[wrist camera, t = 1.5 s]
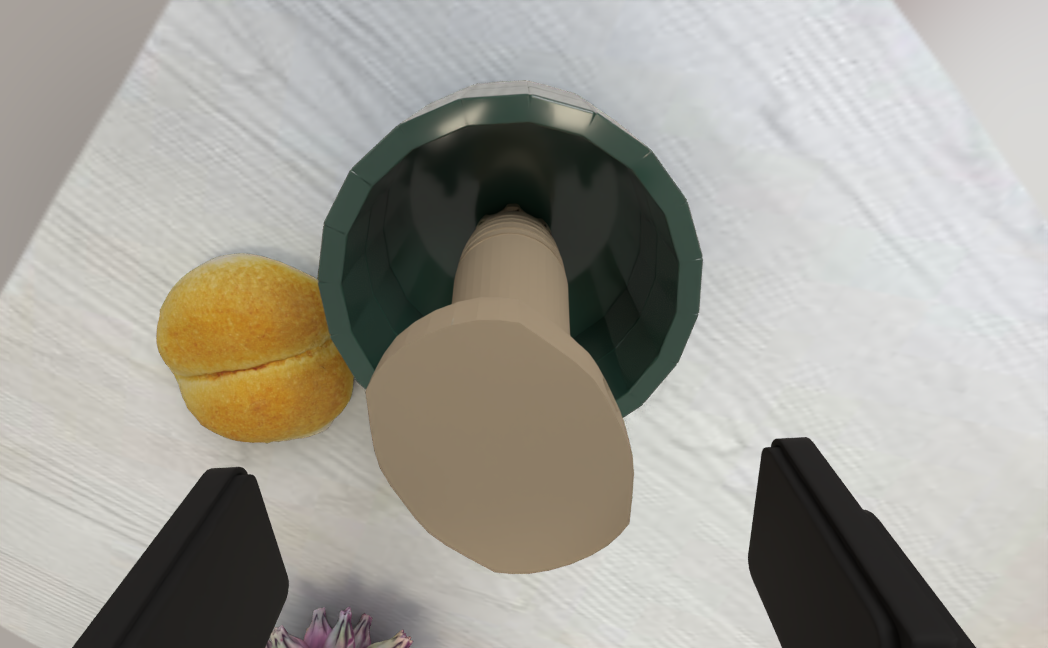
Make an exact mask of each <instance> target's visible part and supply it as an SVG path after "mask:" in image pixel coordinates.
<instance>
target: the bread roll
mask: <svg viewBox="0 0 1048 648" xmlns="http://www.w3.org/2000/svg"><path fill="white" fill-rule="evenodd" d="M157 347H158V350H159V353H160V355H161V357H162V359H163V360H164V362H165V363H166V365H167V366H168V367H169V368H170V370H171V371H172V372H173V374H174V375H175V378H176V380H177V382H178V384H179V387H180V391H181V394H182V397H183V399H184V401H185V403H186V406H187V408H188V409H189V411H190V412H191V413H192V414H193V415H194V416H195V417H196V419H197V420H198V421H199V422H200V424H201V425H202V426H204V427H206V428H207V429H209V430H211V431H212V432H214V433H216V434H219V435H221V436H223V437H226V438H229V439H232V440H236V441H242V442H252V443H255V442H265V443H270V442H273V441H276V442H280V441H287V440H292V439H298V438H305V437H310V436H312V435H315V434H317V433H320V432H323V431H325V430H326V429H328V428H329V426H330V425H331V424H332V422H333V420H334V419H335V418H336V417H337V416H338V415H339V414H340V413H341V412H342V411H343V409H344V408H345V407H346V405H347V404H348V402H349V401H350V398H351V396H352V391H353V380H354V376H353V374H352V373H351V371H350V369H349V368H348V366H347V365H346V363H345V361H344V360H343V358H342V356H341V355H340V353H339V351H338V350H337V348H336V346H335V345H334V343H333V341H332V340H331V338H330V334H329V330H328V326H327V321H326V317H325V313H324V308H323V304H322V300H321V296H320V291H319V287H318V280H317V279H316V278H314V277H313V276H310V275H308V274H306V273H304V272H302V271H300V270H298V269H296V268H294V267H291V266H289V265H286V264H284V263H282V262H279V261H276V260H273V259H269V258H267V257H263V256H259V255H253V254H245V253H238V254H229V255H223V256H219V257H216V258H213V259H211V260H209V261H207V262H206V263H204V264H202V265H200V266H198V267H197V268H195V269H193V270H192V271H190V272H189V273H187V274H186V275H185V276H184V277H182V278H181V279H180V280H179V281H178V282H177V283H176V284H175V286H174V287H173V288H172V289H171V291H170V292H169V294H168V296H167V297H166V299H165V301H164V303H163V305H162V307H161V309H160V317H159V321H158V325H157Z"/></svg>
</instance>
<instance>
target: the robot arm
mask: <svg viewBox="0 0 1048 648" xmlns="http://www.w3.org/2000/svg"><path fill="white" fill-rule="evenodd" d="M748 564H749V570H750V574H751V577H752V579H753V582H754V584H755V586H756V588H757V591H758V593H759V595H760V598H761V600H762V602H763V605H764V607H765V609H766V611H767V614H768V616H769V618H770V621H771V623H772V625H773V628H774V630H775V632H776V634H777V637H778V639H779V641H780V644H781V646H782V648H976V647H975V646H974V644H973V643H972V642H971V640H970V639H969V638H968V636H967V635H966V634H965V632H964V631H963V630H962V628H961V627H960V626H959V625H958V623H957V622H956V621H955V619H954V618H953V617H952V615H951V614H950V613H949V611H948V610H947V609H946V607H945V606H944V605H943V603H942V602H941V601H940V599H939V598H938V597H937V596H936V594H935V593H934V592H933V590H932V589H931V588H930V586H929V585H928V584H927V582H926V581H925V580H924V578H923V577H922V576H921V574H920V573H919V572H918V571H917V569H916V568H915V567H914V565H913V564H912V563H911V561H910V560H909V559H908V557H907V556H906V555H905V553H904V552H903V551H902V549H901V548H900V547H899V545H898V544H897V543H896V542H895V540H894V539H893V538H892V536H891V535H890V534H889V532H888V531H887V530H886V528H885V527H884V526H883V524H882V523H881V522H880V520H879V519H878V518H877V517H876V516H875V515H874V514H873V513H871V512H869V511H867V510H863V509H862V508H861V506H860V505H859V504H858V502H857V501H856V500H855V498H854V497H853V496H852V494H851V493H850V491H849V490H848V489H847V487H846V486H845V485H844V483H843V482H842V481H841V479H840V478H839V477H838V475H837V474H836V473H835V471H834V470H833V469H832V467H831V466H830V464H829V463H828V462H827V460H826V459H825V458H824V456H823V455H822V454H821V452H820V451H819V450H818V448H817V447H816V446H815V444H814V443H813V442H812V441H811V440H810V439H809V438H807V437H801V438H782V439H775V440H773V442H772V444H771V447H766V448H764V449H763V451H762V454H761V462H760V470H759V477H758V485H757V492H756V500H755V507H754V515H753V522H752V530H751V537H750V545H749V553H748ZM288 588H289V580H288V576H287V573H286V570H285V567H284V563H283V560H282V557H281V554H280V551H279V548H278V545H277V542H276V539H275V535H274V532H273V529H272V526H271V523H270V520H269V517H268V514H267V511H266V507H265V504H264V501H263V498H262V495H261V492H260V489H259V486H258V483H257V480H256V478H255V476H254V475H251V474H247V472H246V470H245V469H244V468H242V467H230V468H211V469H209V470H207V471H206V472H205V473H204V474H203V475H202V476H201V478H200V479H199V480H198V482H197V483H196V484H195V486H194V487H193V488H192V490H191V491H190V492H189V494H188V495H187V496H186V498H185V499H184V500H183V502H182V503H181V504H180V506H179V507H178V508H177V510H176V511H175V512H174V514H173V515H172V516H171V517H170V519H169V520H168V521H167V523H166V524H165V525H164V527H163V528H162V529H161V531H160V532H159V533H158V535H157V536H156V537H155V539H154V540H153V541H152V543H151V544H150V545H149V547H148V548H147V549H146V551H145V552H144V553H143V555H142V556H141V557H140V559H139V560H138V561H137V563H136V564H135V565H134V567H133V568H132V569H131V570H130V572H129V573H128V574H127V576H126V577H125V578H124V580H123V581H122V582H121V584H120V585H119V586H118V588H117V589H116V590H115V592H114V593H113V594H112V596H111V597H110V598H109V600H108V601H107V602H106V604H105V605H104V606H103V608H102V609H101V610H100V612H99V613H98V614H97V616H96V617H95V618H94V620H93V621H92V622H91V624H90V625H89V626H88V627H87V629H86V630H85V631H84V633H83V634H82V635H81V637H80V638H79V639H78V641H77V642H76V643H75V645H74V646H73V647H72V648H265V647H266V645H267V642H268V640H269V638H270V635H271V633H272V631H273V629H274V626H275V624H276V622H277V619H278V617H279V615H280V612H281V610H282V608H283V605H284V603H285V601H286V598H287V594H288Z"/></svg>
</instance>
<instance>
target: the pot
mask: <svg viewBox="0 0 1048 648" xmlns="http://www.w3.org/2000/svg"><path fill="white" fill-rule="evenodd" d="M507 204H518V205H519V206H520V208H521V209H522V210H523V211H524V212H526V213H527V214H529V215H531V216H533V217H535V218H537V219H540V218H541V219H543V220H544V221H545V222H546V224H547V225H548V227H549V229H550V231H551V234H552V237H553V239H554V241H555V243H556V245H557V248H558V250H559V253H560V256H561V258H562V261H563V265H564V269H565V274H566V278H567V283H568V300H569V324H570V336H571V337H572V338H573V339H574V340H575V341H576V342H577V343H578V344H579V345H580V346H582V347H583V348H584V349H585V350H586V351H587V352H588V353H589V354H590V355H591V357H592V358H593V360H594V361H595V363H596V364H597V366H598V367H599V369H600V371H601V373H602V375H603V376H604V378H605V380H606V382H607V384H608V386H609V388H610V390H611V392H612V394H613V397H614V399H615V401H616V403H617V405H618V408H619V410H620V412H621V415H622V418H623V417H625V416H627V415H628V414H630V413H631V412H633V411H634V410H636V409H637V408H639V407H640V406H642V405H643V403H644V402H645V401H646V400H647V399H648V398H649V397H650V395H651V394H652V393H653V392H654V391H655V390H656V388H657V387H658V386H659V385H660V384H661V383H662V381H663V380H664V379H665V378H666V377H667V376H668V374H669V373H670V372H671V371H672V370H673V369H674V367H675V366H676V364H677V363H678V362H679V360H680V357H681V355H682V353H683V350H684V348H685V346H686V343H687V341H688V338H689V336H690V334H691V331H692V329H693V327H694V324H695V322H696V320H697V317H698V313H699V307H700V293H701V279H702V266H703V258H702V252H701V248H700V244H699V241H698V237H697V234H696V230H695V226H694V223H693V219H692V216H691V212H690V208H689V205H688V202H687V199H686V198H685V196H684V195H683V194H682V192H681V191H680V189H679V188H678V187H677V185H676V184H675V182H674V181H673V180H672V178H671V177H670V175H669V174H668V173H667V171H666V170H665V168H664V167H663V166H662V164H661V163H660V161H659V160H658V159H657V157H656V156H655V154H654V153H653V151H652V150H650V148H648V147H647V146H646V145H645V144H643V143H642V142H641V141H640V140H639V139H637V138H636V137H635V136H634V135H632V134H631V133H630V132H629V131H627V130H626V129H625V128H624V127H623V126H621V125H620V124H619V123H618V122H616V121H615V120H613V119H612V118H611V117H609V116H608V115H606V114H605V113H603V112H602V111H601V110H599V109H598V108H596V107H595V106H593V105H592V104H590V103H589V102H588V101H586V100H585V99H583V98H582V97H580V96H579V95H576V94H575V93H572V92H568V91H564V90H561V89H558V88H554V87H551V86H547V85H544V84H539V83H536V82H532V81H526V80H521V81H500V82H492V83H477V84H475V85H471V86H469V87H467V88H464V89H462V90H459V91H457V92H455V93H453V94H450V95H448V96H446V97H444V98H441V99H439V100H437V101H434V102H432V103H430V104H429V105H427V106H425V107H424V108H422V109H421V110H419V111H418V112H417V113H415V114H414V115H412V116H411V117H409V118H408V119H406V120H405V121H403V122H402V123H400V124H399V125H397V126H396V127H395V128H394V129H393V130H392V131H391V132H390V133H389V134H388V135H386V136H385V137H384V138H383V139H382V140H381V141H380V142H379V143H378V144H377V145H376V146H375V147H374V148H373V149H372V150H370V151H369V152H368V153H367V154H366V155H365V156H364V157H363V158H362V159H361V160H360V161H359V162H358V163H357V164H356V165H355V166H353V167H352V169H351V170H350V171H349V173H348V175H347V177H346V179H345V181H344V183H343V185H342V187H341V189H340V191H339V193H338V195H337V197H336V199H335V201H334V203H333V205H332V207H331V209H330V211H329V213H328V215H327V217H326V219H325V221H324V226H323V233H322V242H321V251H320V260H319V269H318V278H317V279H318V287H319V291H320V296H321V300H322V304H323V308H324V313H325V317H326V321H327V326H328V330H329V334H330V338H331V340H332V341H333V343H334V345H335V346H336V348H337V350H338V351H339V353H340V355H341V356H342V358H343V360H344V361H345V363H346V365H347V366H348V368H349V369H350V371H351V373H352V374H353V376H354V378H355V379H356V381H357V382H359V384H360V385H361V386H362V387H363V388H364V389H365V390H366V389H367V387H368V384H369V382H370V380H371V378H372V376H373V373H374V371H375V369H376V367H377V365H378V364H379V362H380V360H381V358H382V356H383V354H384V353H385V351H386V350H387V349H388V347H389V346H390V345H391V343H392V342H393V341H394V340H395V338H396V337H397V336H398V335H399V334H400V333H402V332H403V331H404V330H405V329H407V328H408V327H409V326H410V325H412V324H413V323H414V322H415V321H417V320H419V319H421V318H423V317H424V316H426V315H428V314H430V313H431V312H433V311H435V310H438V309H440V308H443V307H446V306H448V305H451V304H452V298H453V288H454V280H455V275H456V271H457V267H458V264H459V260H460V257H461V255H462V252H463V250H464V248H465V246H466V244H467V242H468V240H469V238H470V237H471V235H472V234H473V232H474V231H475V230H476V226H477V225H478V223H479V221H480V220H481V219H482V218H483V217H484V216H485V215H492V214H496V213H498V212H500V211H502V210H503V209H504V208H505V207H506V205H507Z"/></svg>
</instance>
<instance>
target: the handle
mask: <svg viewBox="0 0 1048 648" xmlns="http://www.w3.org/2000/svg"><path fill="white" fill-rule="evenodd" d="M366 399H367V406H368V414H369V421H370V428H371V434H372V440H373V446H374V451H375V454H376V457H377V460H378V463H379V467H380V469H381V471H382V472H383V474H384V476H385V477H386V479H387V481H388V482H389V484H390V486H391V487H392V488H393V490H394V491H395V492H396V494H397V495H398V496H399V498H400V499H401V500H402V502H403V503H404V504H405V506H406V507H407V508H408V510H409V511H410V512H411V514H412V515H413V516H414V518H415V519H416V520H417V521H418V522H419V523H420V524H421V525H422V526H423V527H424V528H425V530H426V531H427V532H428V533H429V534H431V535H432V536H434V537H435V538H436V539H438V540H439V541H441V542H442V543H443V544H445V545H446V546H448V547H450V548H452V549H453V550H455V551H457V552H459V553H460V554H462V555H464V556H466V557H467V558H469V559H471V560H473V561H475V562H477V563H478V564H480V565H482V566H484V567H486V568H488V569H490V570H491V571H493V572H497V573H508V574H530V573H536V572H543V571H549V570H553V569H556V568H559V567H563V566H566V565H570V564H572V563H575V562H577V561H579V560H582V559H584V558H586V557H589V556H591V555H593V554H594V553H596V552H598V551H599V550H601V549H603V548H604V547H606V546H608V545H609V544H610V543H611V542H612V541H613V540H614V539H616V538H617V537H618V536H619V535H620V534H621V533H622V531H623V530H624V529H625V528H626V527H627V526H628V525H629V522H630V512H631V503H632V493H633V479H634V469H633V456H632V451H631V447H630V443H629V438H628V435H627V431H626V427H625V424H624V420H623V418H622V415H621V412H620V410H619V408H618V405H617V403H616V401H615V399H614V397H613V394H612V392H611V390H610V388H609V386H608V384H607V382H606V380H605V378H604V376H603V375H602V373H601V371H600V369H599V367H598V366H597V364H596V363H595V361H594V360H593V358H592V357H591V355H590V354H589V353H588V352H587V351H586V350H585V349H584V348H583V347H582V346H580V345H579V344H578V343H577V342H576V341H575V340H574V339H573V338H572V337H571V336H570V324H569V300H568V283H567V278H566V274H565V269H564V265H563V261H562V258H561V256H560V253H559V250H558V248H557V245H556V243H555V241H554V239H553V237H552V234H551V231H550V229H549V227H548V225H547V224H546V222H545V221H544V220H543V219H541V218H540V219H537V218H535V217H533V216H531V215H529V214H527V213H526V212H524V211H523V210H522V209H521V208H520V206H519V205H518V204H507V205H506V207H505V208H504V209H503V210H502V211H500V212H498V213H496V214H492V215H485V216H484V217H483V218H482V219H481V220H480V221H479V223H478V225H477V226H476V230H475V231H474V232H473V234H472V235H471V237H470V238H469V240H468V242H467V244H466V246H465V248H464V250H463V252H462V255H461V257H460V260H459V264H458V267H457V271H456V275H455V280H454V288H453V298H452V304H451V305H448V306H446V307H443V308H440V309H438V310H435V311H433V312H431V313H430V314H428V315H426V316H424V317H423V318H421V319H419V320H417V321H415V322H414V323H413V324H412V325H410V326H409V327H408V328H407V329H405V330H404V331H403V332H402V333H400V334H399V335H398V336H397V337H396V338H395V340H394V341H393V342H392V343H391V345H390V346H389V347H388V349H387V350H386V351H385V353H384V354H383V356H382V358H381V360H380V362H379V364H378V365H377V367H376V369H375V371H374V373H373V376H372V378H371V380H370V382H369V384H368V387H367V389H366Z"/></svg>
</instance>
